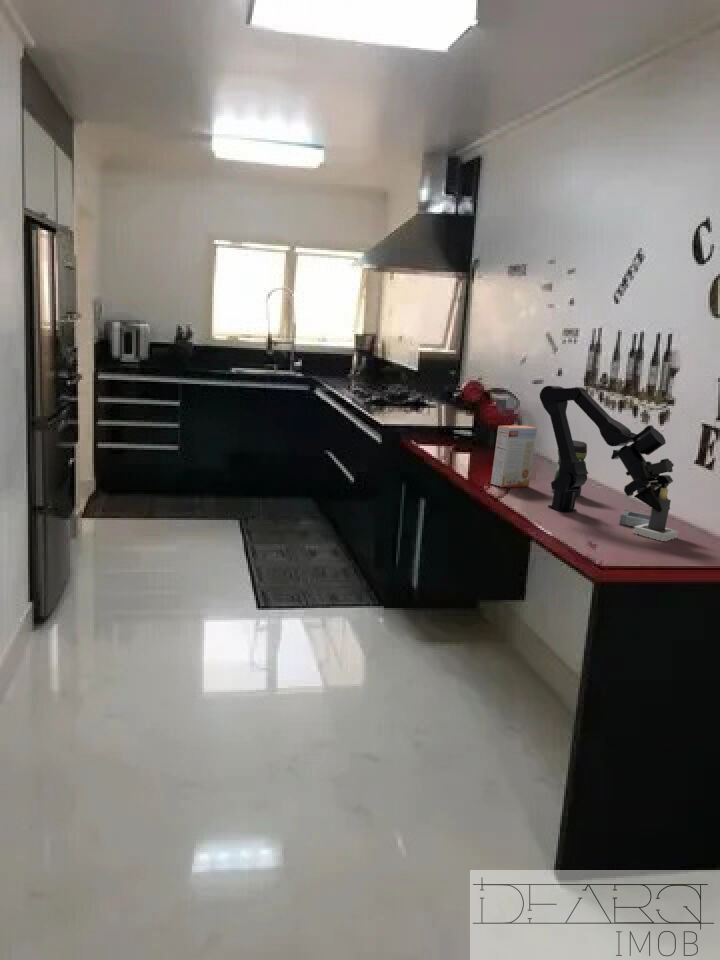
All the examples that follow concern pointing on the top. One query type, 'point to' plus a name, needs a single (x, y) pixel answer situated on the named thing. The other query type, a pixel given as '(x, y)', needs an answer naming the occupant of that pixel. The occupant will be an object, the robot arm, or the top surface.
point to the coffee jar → (580, 453)
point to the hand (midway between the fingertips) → (664, 510)
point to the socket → (655, 533)
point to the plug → (660, 513)
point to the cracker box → (513, 456)
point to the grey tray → (633, 518)
